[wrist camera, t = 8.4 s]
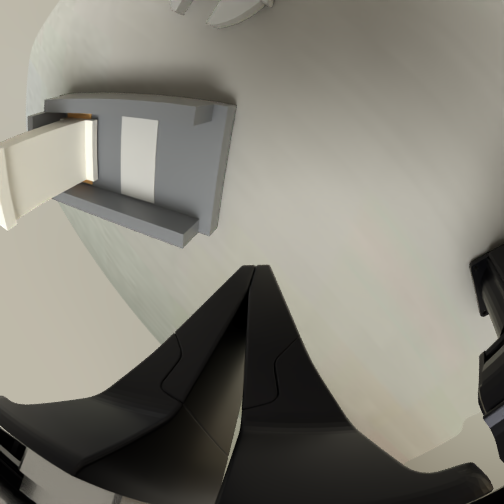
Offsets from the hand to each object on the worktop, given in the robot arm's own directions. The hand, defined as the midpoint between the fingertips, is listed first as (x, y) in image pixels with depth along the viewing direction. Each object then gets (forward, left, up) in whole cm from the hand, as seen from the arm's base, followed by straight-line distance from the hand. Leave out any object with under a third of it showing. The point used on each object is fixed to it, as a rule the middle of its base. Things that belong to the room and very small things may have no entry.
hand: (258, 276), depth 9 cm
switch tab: (+14, +14, -10) cm, 23 cm away
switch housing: (+10, +11, -12) cm, 19 cm away
